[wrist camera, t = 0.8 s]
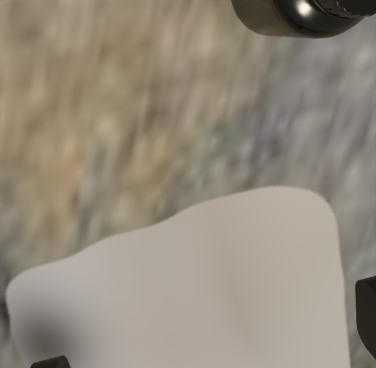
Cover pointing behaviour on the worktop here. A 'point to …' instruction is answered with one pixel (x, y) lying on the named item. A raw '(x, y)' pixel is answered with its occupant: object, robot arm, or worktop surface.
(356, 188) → the worktop surface
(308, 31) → the supplement bottle
